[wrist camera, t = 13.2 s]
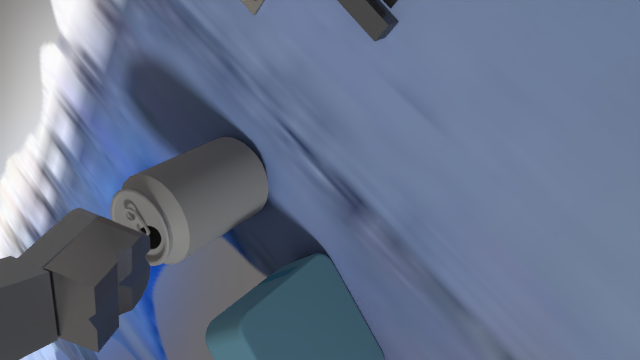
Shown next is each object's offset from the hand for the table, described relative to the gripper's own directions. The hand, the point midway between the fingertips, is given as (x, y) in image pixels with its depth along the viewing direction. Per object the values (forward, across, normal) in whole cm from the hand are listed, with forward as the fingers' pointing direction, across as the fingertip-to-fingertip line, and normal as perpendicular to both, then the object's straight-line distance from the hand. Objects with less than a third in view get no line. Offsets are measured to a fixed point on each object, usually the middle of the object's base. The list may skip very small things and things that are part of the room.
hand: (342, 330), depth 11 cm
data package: (+28, -2, -31) cm, 42 cm away
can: (+33, -14, -24) cm, 43 cm away
